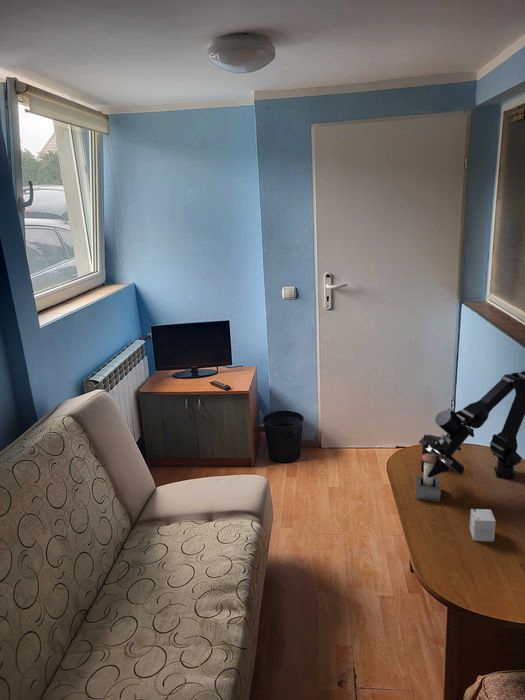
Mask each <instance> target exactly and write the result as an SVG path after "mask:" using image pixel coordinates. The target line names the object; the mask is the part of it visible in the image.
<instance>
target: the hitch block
mask: <svg viewBox="0 0 525 700" xmlns="http://www.w3.org/2000/svg"><path fill="white" fill-rule="evenodd" d="M423 478H424V475H415V500H422V501H430V500H431V502H432V501H433V502H441V493H442V492H441V478H440V477H438V476H433V487H430V486H423Z"/></svg>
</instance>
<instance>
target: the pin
mask: <svg viewBox="0 0 525 700" xmlns="http://www.w3.org/2000/svg"><path fill="white" fill-rule="evenodd" d="M422 460H423V462H424V472H423V476H424V478H423V486H430V487H433V477H434V476H433V477H430V478H429V477H428V474H429V472H430V471H431V470H432V469H433V467H434V463H435V462H436V456H435V455H433V454H424V455H423V456H422V455H421V461H422Z"/></svg>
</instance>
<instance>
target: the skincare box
mask: <svg viewBox="0 0 525 700" xmlns="http://www.w3.org/2000/svg"><path fill="white" fill-rule="evenodd" d="M496 523H497V522H496V519H495V516H494V513H493V511H492V510H491V509H487V508H486V509H485V508H484V509H483V508H471V509H470V519H469V530H470V531H469V532H470V535H471V537H472V541H476V542H495V533H496V526H497V525H496Z"/></svg>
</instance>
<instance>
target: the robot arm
mask: <svg viewBox="0 0 525 700" xmlns="http://www.w3.org/2000/svg"><path fill="white" fill-rule="evenodd" d="M513 390H514V391H515V396H514V398H513V402H512V404H511V407H510V409H509V411H508V414H507V417H506V419H505V422H504V425H503V427H502V430H501V431H500V432H499V433H497V434H496V433H494V434H493V435H492V438H491V441H490V442H489V449H490V451H491V452H492V455H493V456H495V457H497V461H496V466H494V473H495V476H496V478H503V479H511V480H515V479H517V477H516V474H515V466H518V464H520V463H521V462H522V459H523V457H522V456H521V455H520V454H518V453H519V452H518V453H517V450H518V440H517V436H518V433H519V430H520V428H521V425H522V423H523V420H524V418H525V370H523V371H521V372H511V373H506V374H504V375H503V376H501V379H500V380H499V381H498V382H497V383H496V384H495V385H494V386H493V387H492V388H490V390H488V392H487V393H486V394H484V395H483V396H482V397H481V398H480V399H479V400H477V401H476V402H475V401H474V402H472V403H469V404H468V405H467V406H465V407H464V408H462V409H461V410H458V411H454V410H452V409H450V408H447V409H446V410H443V411H442V410H441V412H438V413H437V414H436V415H435V420H434V421H435V423H436V425H438V427H440V428H441V430H443V431H444V432H445V433H446V434H445V435H444V434H442V435H440V436H436V435H433V434H427V435H428V437H427V439H426V438H423V437H422V438H420V440H419V441H418V444H420V445H421V446H422V447H423V446H424V447H425V448H426V449H425V448H424V450H425V452H426V454H433V455H435V456H437V455H438V456H439V457H440V459H438V458H436V462H437V463H436V465H435V466H434V467H433V469H432V470H431V471H430V472H429V474H428V477H429V478H430V477H436V475H440V474H443V473H444V472H445V473H446V472H448V471H453V470H454V472H456V473H458V475H462V473H463V472H464V471H465V466H464V465H463V464H461V463H460V462H459V461H458V460H456V459H455V458H454V457H453V456H454V454H455V453H456V452H457V451H461V450H462V448H461V445H462V444H464V442H465V441H466V440H467V438H468V437H469V436H470V437H471V438H474V437H475V433H474V431H475V430H474V429H479V428H482V426H483V425H484V424H485V423H486V421H487V420H488V418H489V415H490V412H492V410H493V409H494V408H495V407H496V406H497V405H499V403H500V402H501V401H503V399H504V398H506V397H507V396H508V395H509V394H510V393H512V391H513ZM439 437H440V438H439ZM439 452H440V453H439ZM420 471H421V473H424V463H423V466H422V469H421V468H420Z"/></svg>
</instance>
